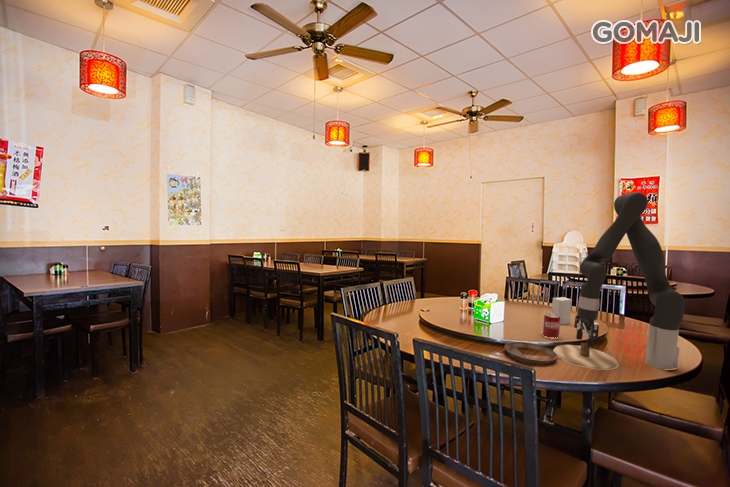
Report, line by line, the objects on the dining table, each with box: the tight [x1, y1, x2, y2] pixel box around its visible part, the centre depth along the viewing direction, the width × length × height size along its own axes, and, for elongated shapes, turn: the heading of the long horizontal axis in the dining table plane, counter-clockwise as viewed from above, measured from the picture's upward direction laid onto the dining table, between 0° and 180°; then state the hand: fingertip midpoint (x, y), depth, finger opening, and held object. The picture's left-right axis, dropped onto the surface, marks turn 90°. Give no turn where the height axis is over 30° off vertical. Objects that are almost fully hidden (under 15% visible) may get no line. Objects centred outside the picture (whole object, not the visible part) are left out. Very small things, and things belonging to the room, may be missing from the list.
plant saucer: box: [504, 341, 557, 365], centre depth 147 cm, size 21×21×3 cm
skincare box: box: [551, 296, 573, 326], centre depth 194 cm, size 8×6×15 cm
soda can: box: [542, 312, 561, 338], centre depth 170 cm, size 7×7×12 cm
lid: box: [554, 342, 618, 370], centre depth 147 cm, size 23×23×6 cm
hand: (584, 342), depth 147 cm, fingers open, 8 cm apart
